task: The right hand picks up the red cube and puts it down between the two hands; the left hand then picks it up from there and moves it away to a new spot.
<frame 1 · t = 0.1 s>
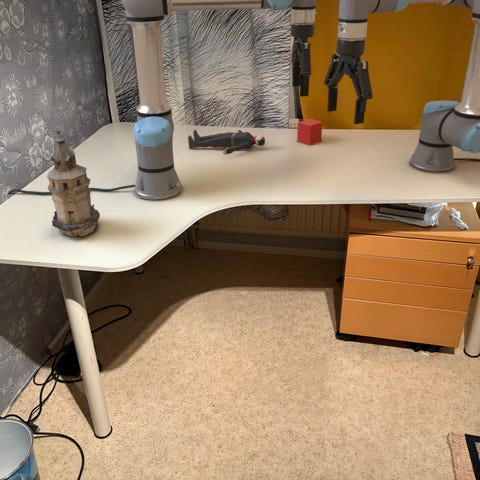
left hand: (300, 91, 180), 28 cm above the table, tool pointing down, fingers open, 13 cm apart
right hand: (344, 117, 153), 28 cm above the table, tool pointing down, fingers open, 13 cm apart
red cube: (309, 141, 220), on the table
toy: (227, 147, 214), on the table
miniature building: (78, 229, 156), on the table
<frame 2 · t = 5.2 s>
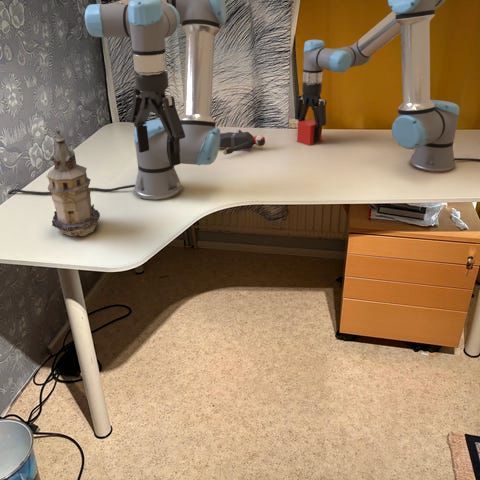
left hand: (159, 158, 135), 25 cm above the table, tool pointing down, fingers open, 13 cm apart
right hand: (309, 139, 219), 1 cm above the table, tool pointing down, fingers closed on red cube, 7 cm apart
red cube: (309, 141, 220), on the table, touching right hand
everything else where it was.
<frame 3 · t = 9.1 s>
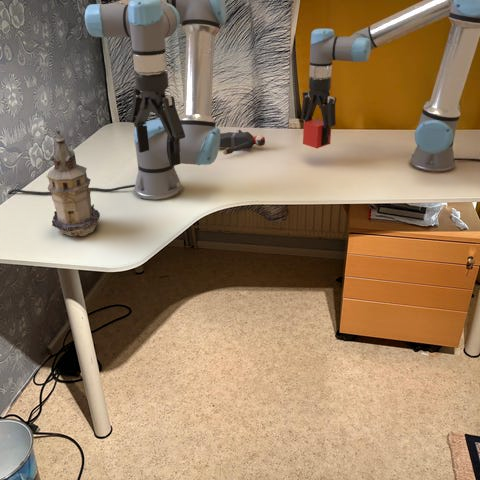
left hand: (159, 158, 135), 25 cm above the table, tool pointing down, fingers open, 13 cm apart
right hand: (316, 141, 194), 8 cm above the table, tool pointing down, fingers closed on red cube, 7 cm apart
red cube: (316, 143, 195), point 7 cm above the table, touching right hand
everything else where it was.
when the right hand's fingers open (2 cm above the table, at t = 12.9 s): red cube drops 1 cm, on the table.
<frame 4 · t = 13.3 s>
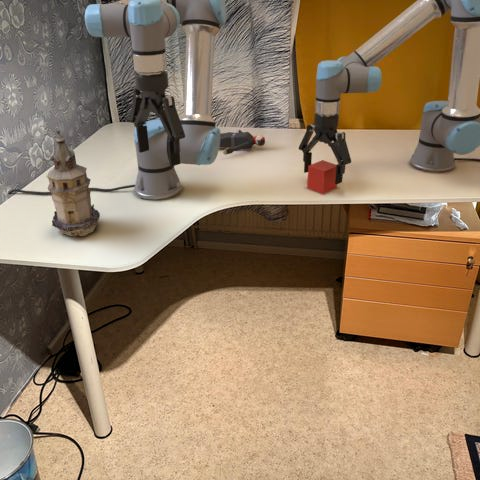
left hand: (159, 158, 135), 25 cm above the table, tool pointing down, fingers open, 13 cm apart
right hand: (322, 177, 177), 4 cm above the table, tool pointing down, fingers open, 13 cm apart
red cube: (322, 188, 179), on the table
everything else where it was.
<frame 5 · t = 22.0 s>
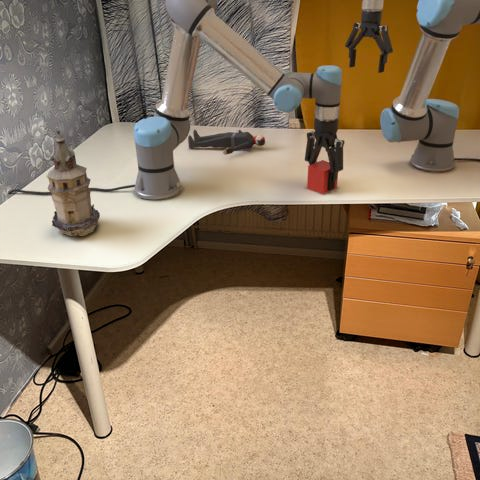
left hand: (322, 185, 178), 1 cm above the table, tool pointing down, fingers closed on red cube, 7 cm apart
right hand: (366, 69, 207), 28 cm above the table, tool pointing down, fingers open, 13 cm apart
red cube: (321, 188, 179), on the table, touching left hand
everything else where it was.
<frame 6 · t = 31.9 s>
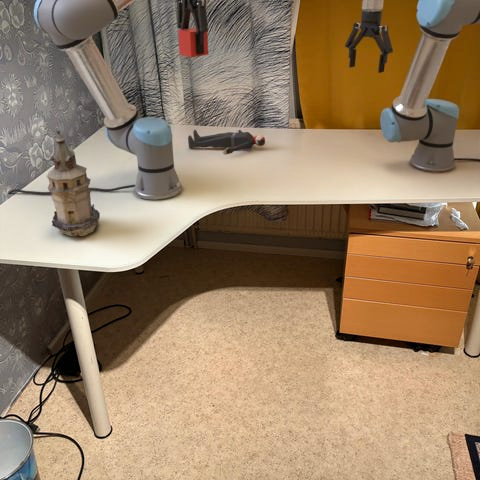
left hand: (193, 52, 184), 39 cm above the table, tool pointing down, fingers closed on red cube, 7 cm apart
right hand: (366, 69, 207), 28 cm above the table, tool pointing down, fingers open, 13 cm apart
red cube: (194, 54, 185), point 38 cm above the table, touching left hand
everything else where it was.
when the left hand's fingers open (2 cm above the table, at t = 42.2 s): red cube drops 1 cm, on the table.
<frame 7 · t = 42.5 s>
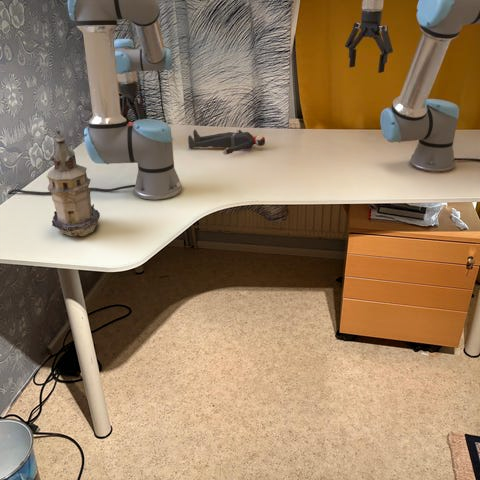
left hand: (134, 137, 218), 3 cm above the table, tool pointing down, fingers open, 10 cm apart
right hand: (366, 69, 207), 28 cm above the table, tool pointing down, fingers open, 13 cm apart
red cube: (135, 144, 219), on the table
everything else where it was.
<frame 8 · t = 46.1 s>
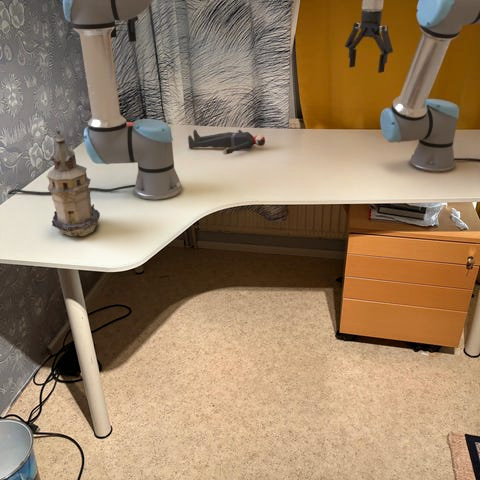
left hand: (122, 39, 199), 41 cm above the table, tool pointing down, fingers open, 13 cm apart
right hand: (366, 69, 207), 28 cm above the table, tool pointing down, fingers open, 13 cm apart
nothing on the table moved.
at the end: red cube inside the target area (0.2 cm from its centre), on the table; red cube tilted 0°; the two hands never held the red cube at the same time; the left hand is holding nothing; the right hand is holding nothing; red cube at rest at the end (0.0 cm/s) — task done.
